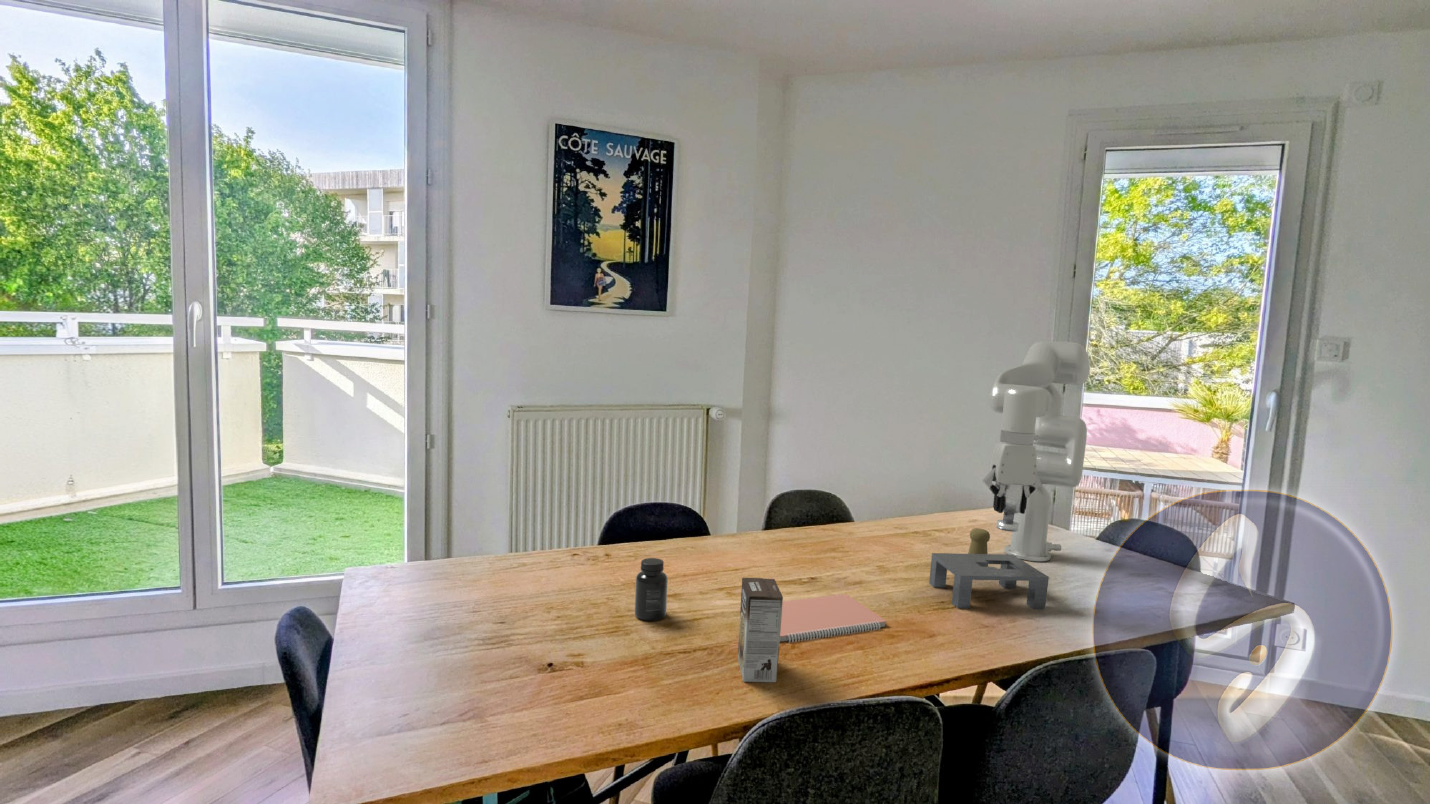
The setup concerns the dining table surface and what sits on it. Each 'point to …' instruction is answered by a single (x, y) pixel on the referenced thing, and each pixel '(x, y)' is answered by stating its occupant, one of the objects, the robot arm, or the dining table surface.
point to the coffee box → (759, 629)
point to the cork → (979, 541)
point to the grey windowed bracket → (987, 575)
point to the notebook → (825, 617)
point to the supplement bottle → (651, 590)
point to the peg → (1011, 507)
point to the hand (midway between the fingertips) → (1009, 511)
